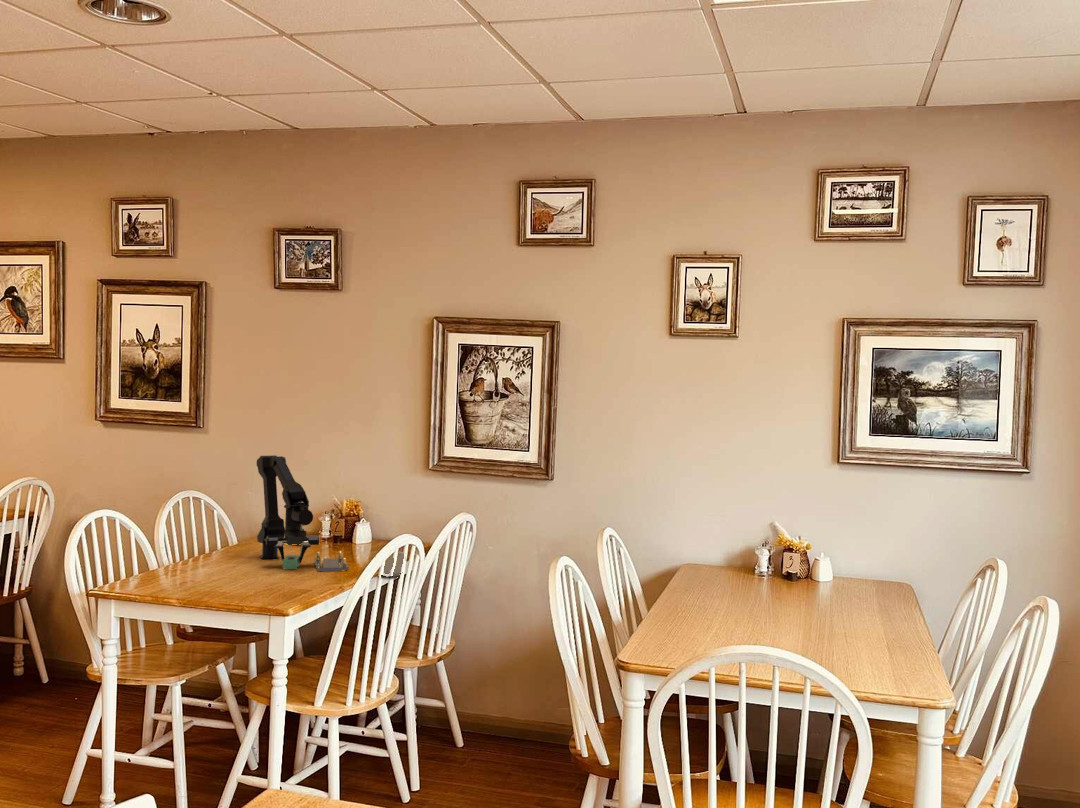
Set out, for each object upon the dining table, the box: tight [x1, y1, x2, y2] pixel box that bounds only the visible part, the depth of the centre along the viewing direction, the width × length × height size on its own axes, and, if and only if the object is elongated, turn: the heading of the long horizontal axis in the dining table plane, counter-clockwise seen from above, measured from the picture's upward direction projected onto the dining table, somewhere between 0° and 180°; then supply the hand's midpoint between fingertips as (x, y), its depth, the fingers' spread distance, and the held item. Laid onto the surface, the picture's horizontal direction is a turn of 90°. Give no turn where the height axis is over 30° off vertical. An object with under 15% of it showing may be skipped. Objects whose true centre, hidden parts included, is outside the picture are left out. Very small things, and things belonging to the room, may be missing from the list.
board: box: [282, 554, 302, 570], centre depth 356 cm, size 10×5×4 cm, turn 5°
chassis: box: [313, 550, 350, 572], centre depth 359 cm, size 17×11×4 cm, turn 18°
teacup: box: [374, 551, 405, 578], centre depth 350 cm, size 14×11×8 cm
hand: (291, 563), depth 356 cm, fingers closed on board, 5 cm apart
